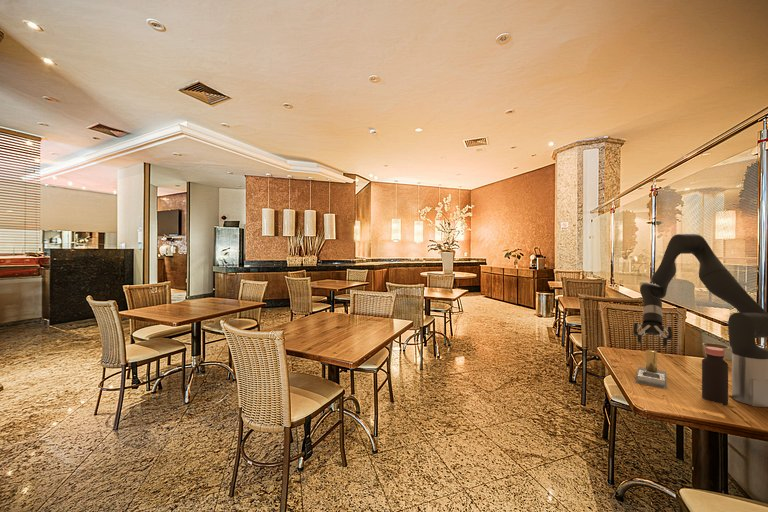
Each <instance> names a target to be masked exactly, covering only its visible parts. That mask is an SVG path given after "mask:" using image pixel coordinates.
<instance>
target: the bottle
mask: <svg viewBox="0 0 768 512" xmlns="http://www.w3.org/2000/svg"><path fill="white" fill-rule="evenodd" d="M704 352H705V353H706V354H705V353H704V354H705V357H704V358H703V359H702V360H701V397H702V399H704V400H706V401H709V402H711V403H717V404H722V407H723V406H728V404H729V364H728V363H727V361H726V360H725V361H724V360H723V357H724V349H721V348H717V347H705V349H704ZM706 355H707V357H706Z"/></svg>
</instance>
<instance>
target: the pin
mask: <svg viewBox="0 0 768 512" xmlns="http://www.w3.org/2000/svg"><path fill="white" fill-rule="evenodd" d="M645 368H646V371H648V372H654V373H657V370H658V351H656V350H654V349H645Z"/></svg>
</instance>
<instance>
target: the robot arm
mask: <svg viewBox="0 0 768 512" xmlns="http://www.w3.org/2000/svg"><path fill="white" fill-rule="evenodd" d="M682 254H683V255H684V254H687V255H689V254H692V255H693V256H694V257H695V258H696V260H697V261H698V262H699V267H698V268H699V269H698V277H699V279H700V282H701V283H702V284H703V285H704V286H705V288H706V289H707V290H708V291H709V292H710V293H711V294H712V295H714V296H715V297H717V298H718V299H721V300H722V301H724V302H725V303H727V304H729V305H731V306H732V307H733V308H734V309H735V310H737V312H734V313H732V314H731V315H730V316H729V318H728V319H727V320H728V321H727V330H728V342H729V345H730V346H729V347H730V348H731V397H732V399H733V400H735V401H737V402H739V403H742V404H745V405H750V406H752V407H761V408H768V349H766V348H764V347H761V346H758V345H757V342H756V339H757V338H761V339H767V338H768V312H767V311H766V310H765V309H764V308H763V307H762V306H761V305H760V304H759V303H757V302H756V300H754V299H753V297H752V296H751V295H750V294H749V293H748V291H746V290H745V288H744V287H743V286H742V285H741V284H740V283H739V282H738V281H737V280H736V278H735V277H734V275H733V274H732V273H731V272H730V270H728V268H727V267H726V266H725V265H724V264H723V263H722V262H721V260H720V259H719V258H718V256H717V255H716V254H715V253H714V251H713V249H712V248H711V247H710V245H709V243H708V242H707V240H706V239H705V237H704V236H702V235H701V234H699V233H677V234H674V235H673V236H672V237H671V238H670V240H669V241H668V243H667V246H666V249H665V251H664V254H663V257H662V260H661V262H660V263H659V266H658V268H657V269H656V270H655V272H654V273H653V275H652V276H651V281H652V283H651V282H643V283H642V284H641V286H640V287H639V288H640V289H639V292H640V295H641V297H642V300H643V311H642V324H639V323H637V322H634V324H633V325H634V326H633V334H632V335H633V336H637V343H639V345H642V339H643V336H646V335H647V334H648V335H653V336H657V335H658V336H659V337H660V338H661V339H662V347H663V348H666V347H667V346H668V341H672V340H673V331H672V327H671V326H668V327H664V326H663V323H664V321H663V319H664V318H663V317H664V316H663V315H664V314H663V313H664V312H663V302H662V299H664V298H665V297H666V296H667V291H668V286H669V284H670V282H672V280H673V278H675V277H674V276H675V275H676V273H677V268H676V267H677V265H676V259H677V258H678V257H679V256H680V255H682ZM640 328H641V330H640V331H639V332H638V330H639V329H640ZM664 331H665V332H666V333H667V334H668V335H666V334H665V333H664Z"/></svg>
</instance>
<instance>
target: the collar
mask: <svg viewBox="0 0 768 512" xmlns="http://www.w3.org/2000/svg"><path fill="white" fill-rule="evenodd" d="M637 371H638V370H637ZM638 382H643V383H648V384H653V385H658V386H663V387H665V377H664V374H659V373H654V372H648V371H643V370H639V371H638Z"/></svg>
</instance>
